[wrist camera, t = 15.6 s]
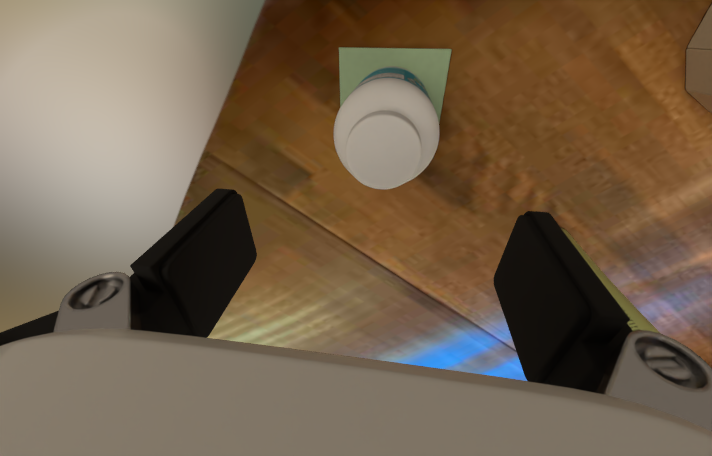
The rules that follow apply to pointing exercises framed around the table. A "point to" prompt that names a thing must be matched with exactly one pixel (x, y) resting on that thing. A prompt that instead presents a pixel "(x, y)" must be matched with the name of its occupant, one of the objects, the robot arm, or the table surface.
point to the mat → (419, 61)
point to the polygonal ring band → (700, 63)
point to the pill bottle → (387, 129)
